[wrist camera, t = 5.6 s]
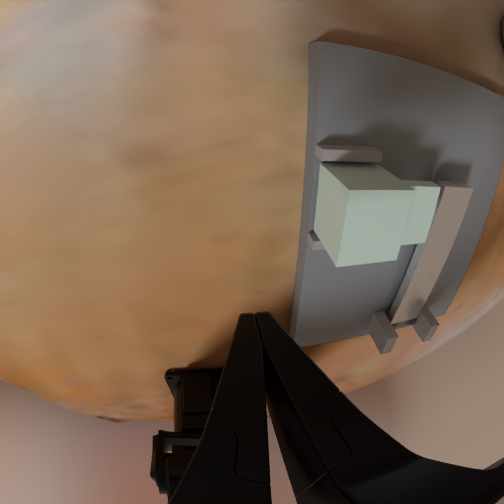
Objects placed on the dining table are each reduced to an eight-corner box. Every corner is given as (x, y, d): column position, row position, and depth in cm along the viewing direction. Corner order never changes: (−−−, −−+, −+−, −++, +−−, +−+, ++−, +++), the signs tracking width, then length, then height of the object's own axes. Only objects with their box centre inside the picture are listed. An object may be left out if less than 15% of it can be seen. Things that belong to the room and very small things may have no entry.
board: (438, 305, 27) (459, 334, 23) (289, 335, 25) (301, 377, 21) (499, 97, 14) (540, 113, 10) (309, 43, 12) (345, 35, 9)
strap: (408, 317, 24) (413, 326, 23) (381, 323, 23) (387, 333, 23) (464, 181, 15) (475, 189, 15) (435, 179, 15) (446, 188, 14)
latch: (402, 223, 17) (433, 255, 15) (313, 229, 17) (336, 267, 14) (415, 166, 15) (452, 191, 12) (320, 163, 14) (349, 190, 12)
